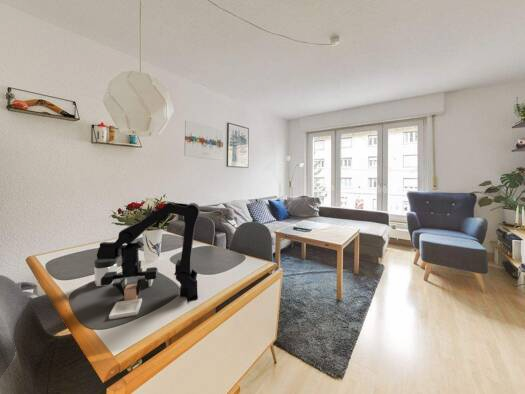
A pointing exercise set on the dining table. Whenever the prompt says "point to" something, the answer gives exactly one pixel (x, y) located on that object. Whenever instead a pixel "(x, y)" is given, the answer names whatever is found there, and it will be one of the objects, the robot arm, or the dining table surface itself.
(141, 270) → the cover
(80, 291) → the dining table surface
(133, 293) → the block
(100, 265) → the jar
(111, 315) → the dish
